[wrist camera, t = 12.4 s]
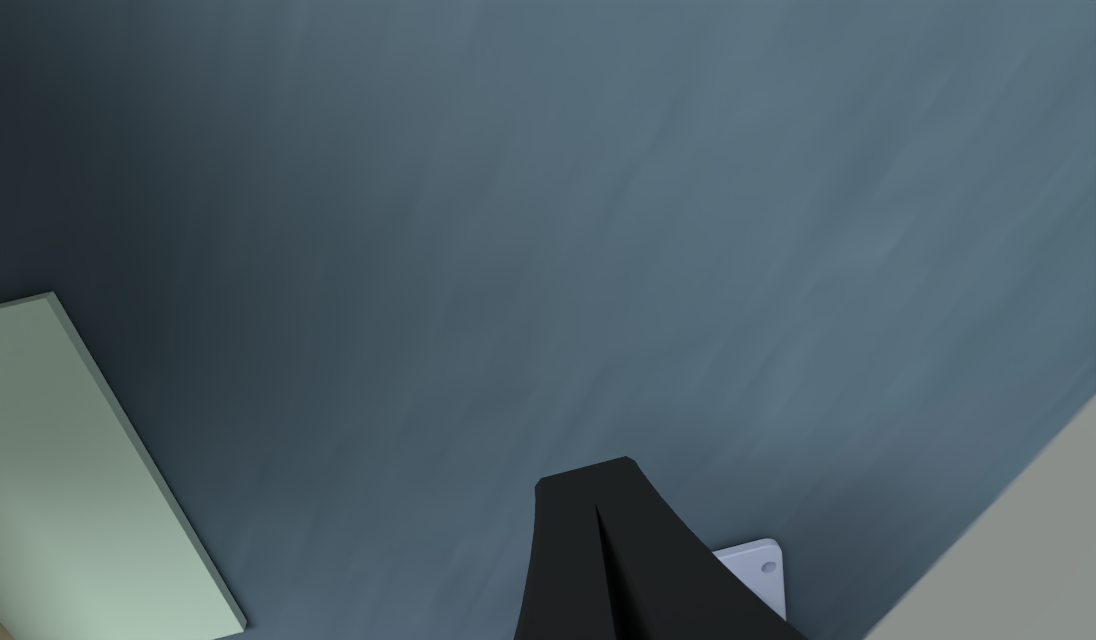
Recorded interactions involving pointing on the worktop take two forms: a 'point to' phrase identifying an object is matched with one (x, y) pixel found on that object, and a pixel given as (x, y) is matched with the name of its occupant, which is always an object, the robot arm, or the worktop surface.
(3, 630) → the oak slab
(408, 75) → the worktop surface
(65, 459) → the rubber mat
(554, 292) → the worktop surface
